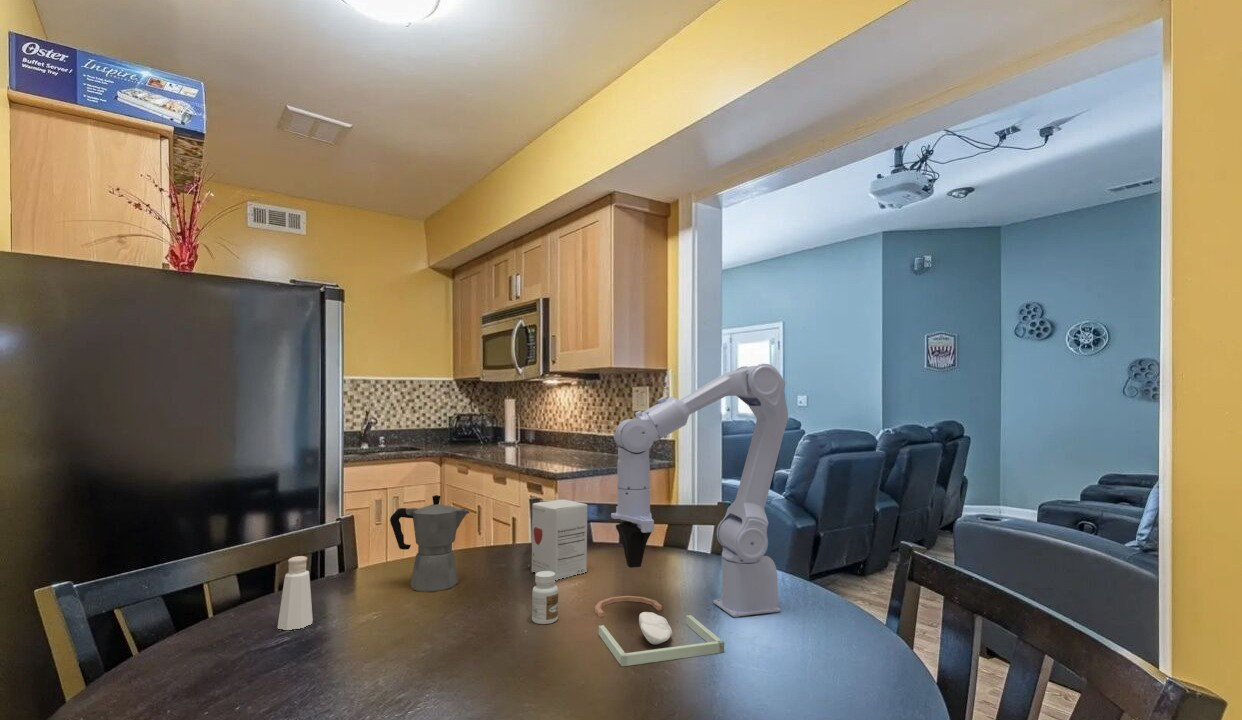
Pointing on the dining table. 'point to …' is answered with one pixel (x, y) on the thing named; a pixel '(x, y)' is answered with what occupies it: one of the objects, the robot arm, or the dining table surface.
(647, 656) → the pale green u-frame
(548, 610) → the pill bottle
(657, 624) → the dumpling
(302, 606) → the pepper shaker
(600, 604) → the segmented c-shaped arc
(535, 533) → the supplement box
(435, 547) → the coffeepot
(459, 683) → the dining table surface
